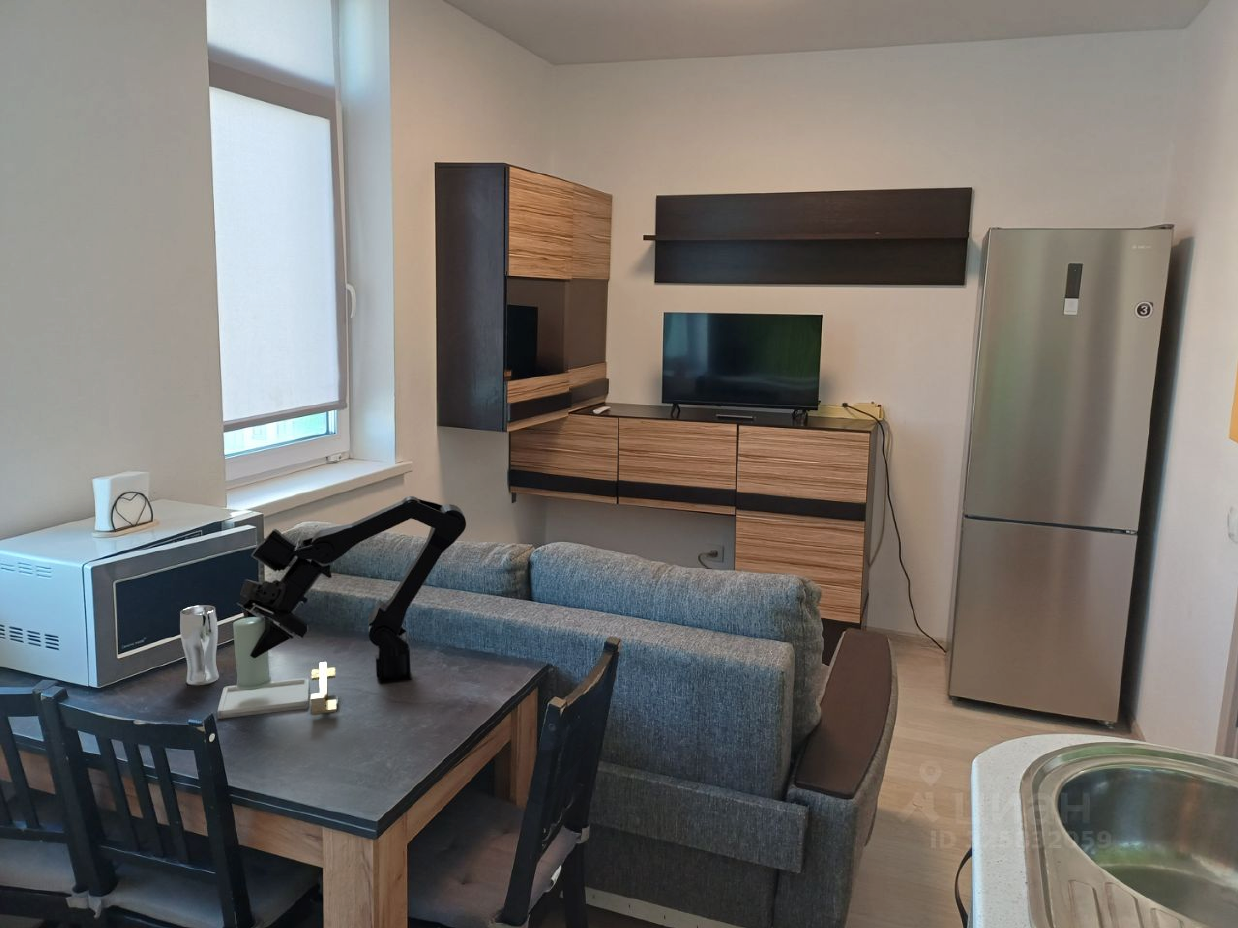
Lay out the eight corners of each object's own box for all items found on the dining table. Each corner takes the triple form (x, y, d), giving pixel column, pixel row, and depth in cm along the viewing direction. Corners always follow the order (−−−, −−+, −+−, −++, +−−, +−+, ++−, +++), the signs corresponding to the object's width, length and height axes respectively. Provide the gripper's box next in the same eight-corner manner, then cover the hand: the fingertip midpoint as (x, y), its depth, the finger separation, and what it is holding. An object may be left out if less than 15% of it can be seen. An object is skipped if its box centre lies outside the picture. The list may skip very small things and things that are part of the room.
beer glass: (207, 687, 185) (201, 616, 182) (176, 684, 186) (171, 614, 184) (228, 674, 191) (223, 605, 189) (198, 672, 193) (193, 603, 190)
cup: (272, 675, 181) (268, 615, 179) (268, 688, 175) (264, 625, 173) (239, 679, 179) (234, 618, 177) (234, 691, 173) (229, 628, 171)
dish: (309, 684, 186) (308, 677, 186) (308, 708, 175) (307, 700, 175) (224, 693, 182) (224, 686, 181) (217, 718, 170) (217, 711, 170)
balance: (337, 689, 184) (336, 656, 183) (338, 720, 170) (336, 685, 169) (311, 692, 182) (309, 659, 181) (310, 724, 168) (308, 689, 167)
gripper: (243, 554, 183) (191, 621, 176) (289, 572, 170) (235, 644, 164) (282, 584, 190) (234, 649, 183) (330, 603, 177) (279, 673, 171)
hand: (244, 653), depth 175 cm, fingers closed on cup, 6 cm apart
